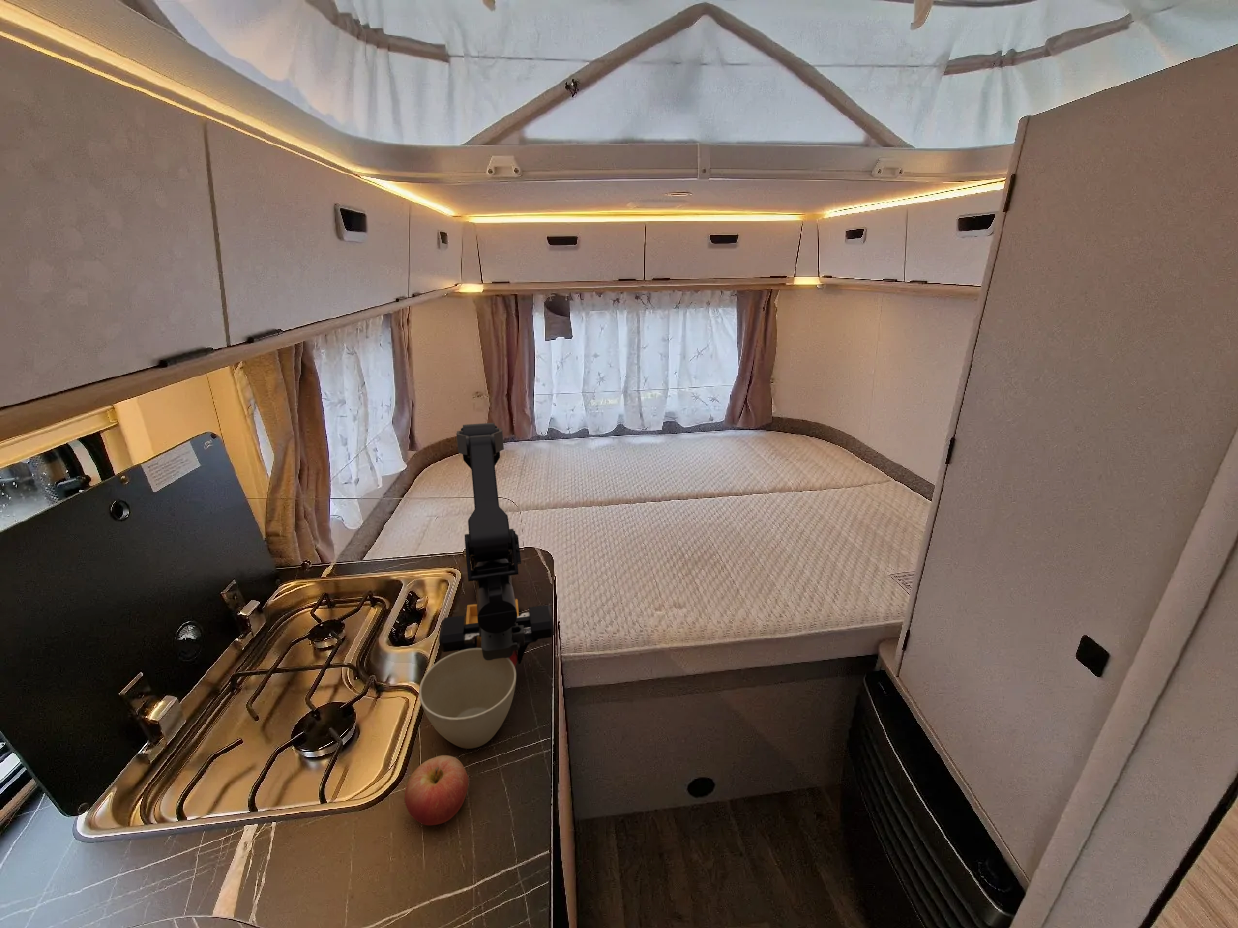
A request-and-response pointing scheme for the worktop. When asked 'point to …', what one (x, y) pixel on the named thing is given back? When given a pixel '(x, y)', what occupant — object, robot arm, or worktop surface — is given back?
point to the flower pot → (468, 696)
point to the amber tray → (472, 613)
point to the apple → (436, 790)
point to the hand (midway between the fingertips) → (501, 665)
